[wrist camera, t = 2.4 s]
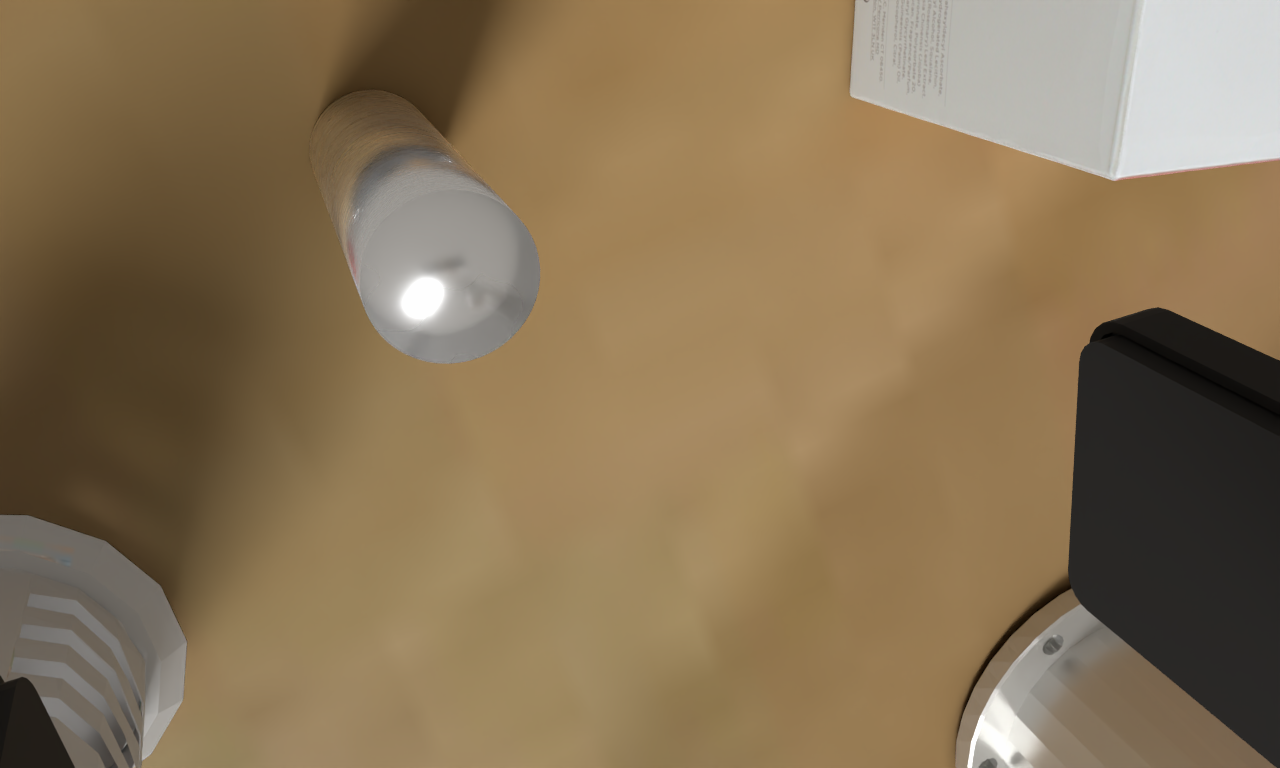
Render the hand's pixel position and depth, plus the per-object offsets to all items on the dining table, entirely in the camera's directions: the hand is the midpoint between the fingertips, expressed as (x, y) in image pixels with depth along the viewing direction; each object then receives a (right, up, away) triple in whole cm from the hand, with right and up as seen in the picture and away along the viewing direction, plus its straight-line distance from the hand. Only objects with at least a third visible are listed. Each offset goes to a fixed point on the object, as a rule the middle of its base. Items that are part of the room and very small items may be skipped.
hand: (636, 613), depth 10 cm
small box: (+9, +13, +21) cm, 27 cm away
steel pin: (-6, +8, +18) cm, 20 cm away
